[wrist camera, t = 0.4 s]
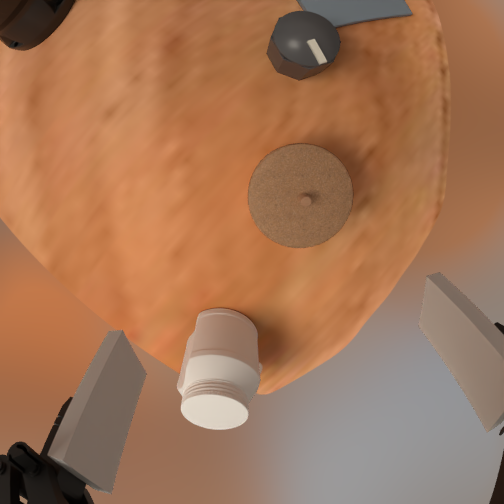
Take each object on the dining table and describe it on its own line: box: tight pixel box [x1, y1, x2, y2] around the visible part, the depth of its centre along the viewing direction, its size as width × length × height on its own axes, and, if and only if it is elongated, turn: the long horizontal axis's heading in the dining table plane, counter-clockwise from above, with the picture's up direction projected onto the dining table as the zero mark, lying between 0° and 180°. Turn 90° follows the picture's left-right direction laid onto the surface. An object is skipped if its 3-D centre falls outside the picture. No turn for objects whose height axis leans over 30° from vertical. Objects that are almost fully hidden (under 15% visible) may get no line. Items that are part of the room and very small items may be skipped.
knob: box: [267, 11, 341, 80], centre depth 24 cm, size 7×7×7 cm
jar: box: [177, 308, 260, 430], centre depth 36 cm, size 12×10×15 cm
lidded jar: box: [248, 143, 353, 248], centre depth 30 cm, size 11×11×9 cm
